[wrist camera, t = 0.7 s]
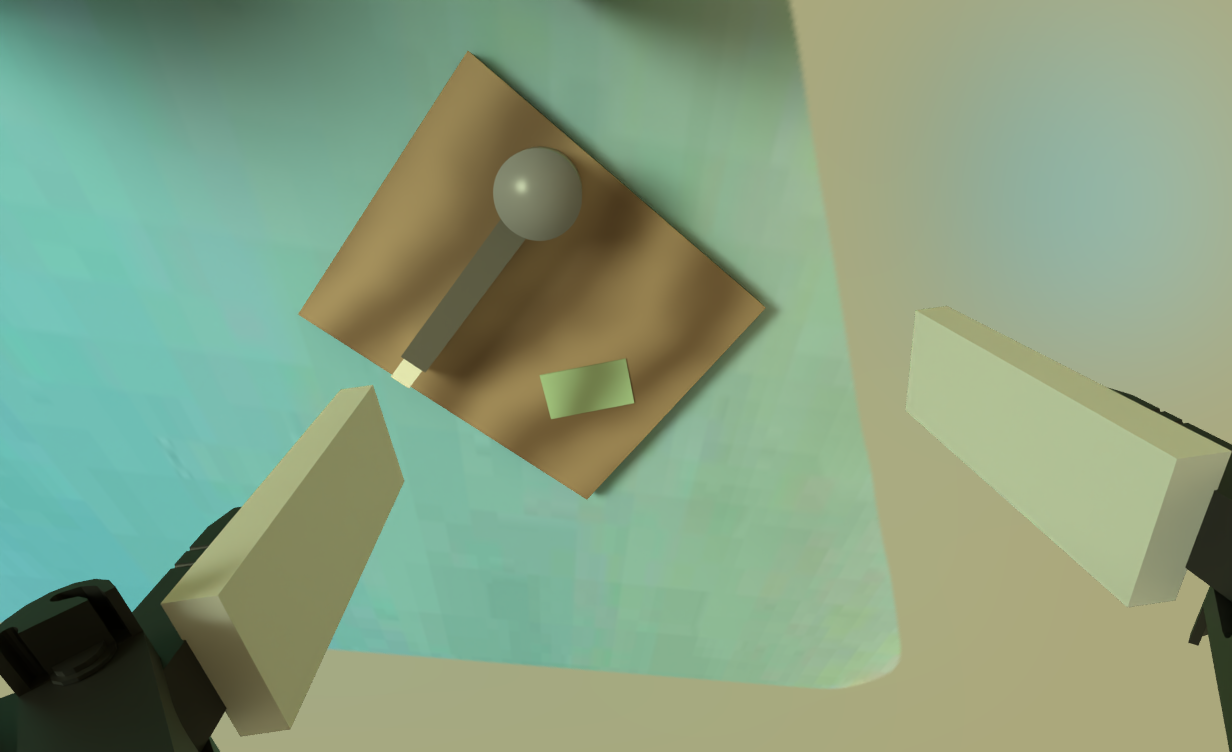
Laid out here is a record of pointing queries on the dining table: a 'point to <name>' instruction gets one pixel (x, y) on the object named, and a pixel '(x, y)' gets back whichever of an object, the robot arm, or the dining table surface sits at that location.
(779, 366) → the dining table surface
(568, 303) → the board
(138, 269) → the dining table surface
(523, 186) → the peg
